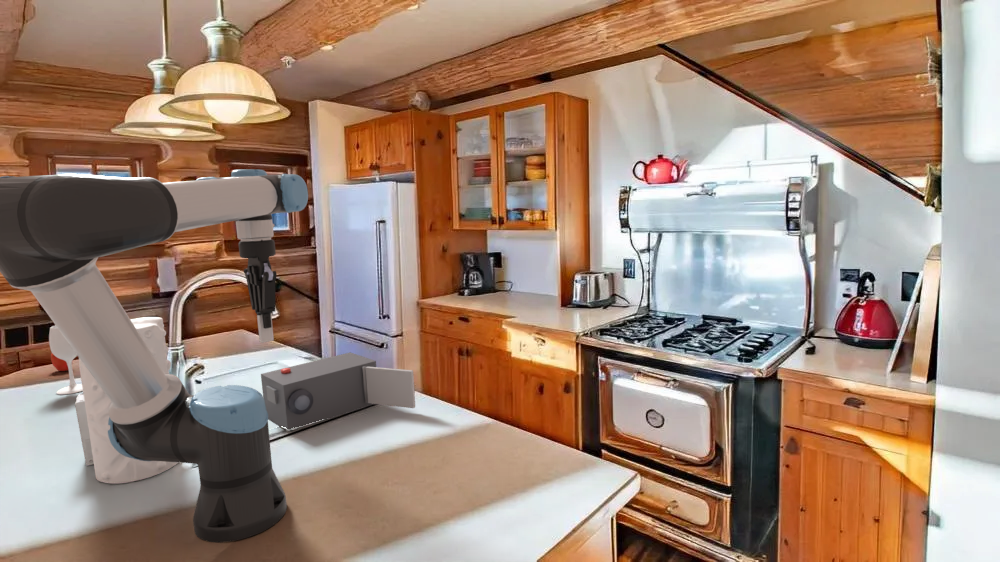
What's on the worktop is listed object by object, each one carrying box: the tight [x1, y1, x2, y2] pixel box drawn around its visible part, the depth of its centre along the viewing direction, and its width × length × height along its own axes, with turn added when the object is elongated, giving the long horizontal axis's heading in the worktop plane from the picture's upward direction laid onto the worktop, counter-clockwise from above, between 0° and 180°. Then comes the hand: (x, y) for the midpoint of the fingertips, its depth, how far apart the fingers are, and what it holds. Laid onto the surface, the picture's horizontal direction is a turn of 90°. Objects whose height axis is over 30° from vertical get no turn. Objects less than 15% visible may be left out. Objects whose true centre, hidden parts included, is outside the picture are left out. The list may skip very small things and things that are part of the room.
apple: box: [50, 352, 74, 372], centre depth 198 cm, size 6×6×8 cm
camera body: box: [260, 351, 377, 429], centre depth 149 cm, size 16×27×13 cm, turn 134°
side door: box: [362, 366, 416, 409], centre depth 148 cm, size 2×15×10 cm, turn 69°
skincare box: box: [74, 393, 94, 466], centre depth 126 cm, size 8×6×15 cm
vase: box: [78, 316, 179, 485], centre depth 119 cm, size 17×16×32 cm
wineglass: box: [48, 324, 83, 396], centre depth 175 cm, size 9×9×21 cm
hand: (266, 341), depth 129 cm, fingers closed
